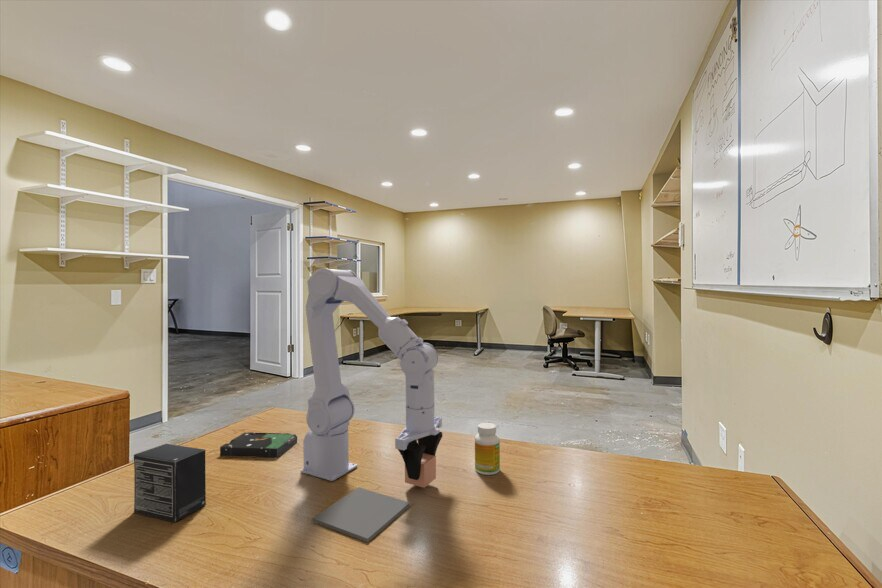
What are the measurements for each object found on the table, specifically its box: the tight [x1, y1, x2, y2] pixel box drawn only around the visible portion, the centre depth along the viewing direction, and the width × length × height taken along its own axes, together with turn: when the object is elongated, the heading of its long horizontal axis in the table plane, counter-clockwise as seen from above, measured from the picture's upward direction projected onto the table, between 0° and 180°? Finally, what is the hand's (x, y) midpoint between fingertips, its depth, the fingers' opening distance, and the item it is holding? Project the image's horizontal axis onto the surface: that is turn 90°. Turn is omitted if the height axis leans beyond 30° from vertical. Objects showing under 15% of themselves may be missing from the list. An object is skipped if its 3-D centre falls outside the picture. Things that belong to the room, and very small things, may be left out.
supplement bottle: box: [474, 422, 501, 476], centre depth 87 cm, size 5×5×10 cm
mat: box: [311, 487, 411, 543], centre depth 70 cm, size 12×12×1 cm
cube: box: [404, 453, 437, 489], centre depth 80 cm, size 4×4×4 cm
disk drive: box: [219, 431, 298, 459], centre depth 100 cm, size 10×3×15 cm
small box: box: [133, 443, 207, 523], centre depth 72 cm, size 11×6×10 cm, turn 71°
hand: (420, 473), depth 80 cm, fingers closed on cube, 4 cm apart
